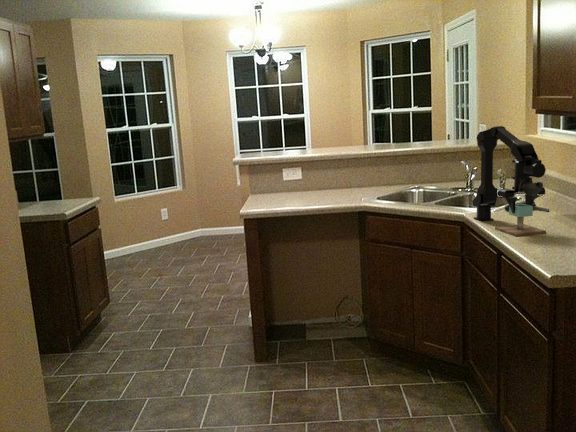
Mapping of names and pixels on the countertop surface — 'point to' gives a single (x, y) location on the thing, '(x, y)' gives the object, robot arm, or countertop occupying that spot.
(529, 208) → the collar
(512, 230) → the post plate
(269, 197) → the countertop surface
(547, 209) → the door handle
